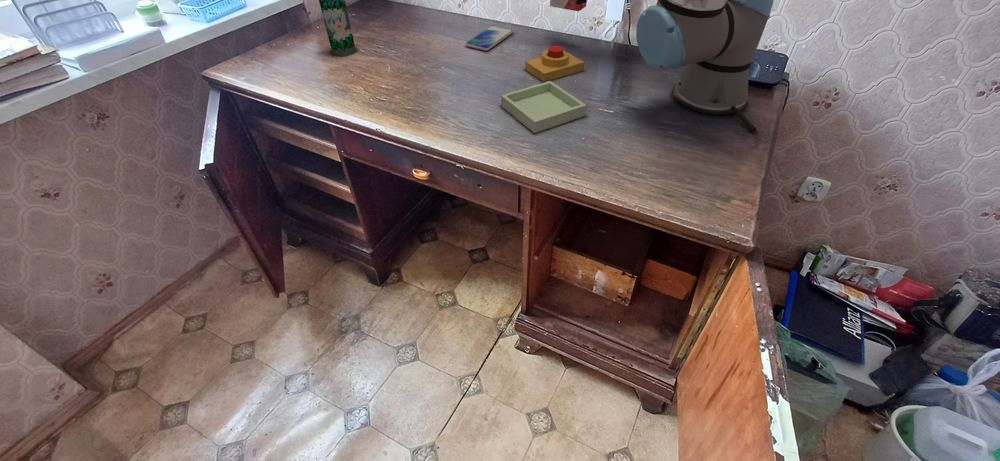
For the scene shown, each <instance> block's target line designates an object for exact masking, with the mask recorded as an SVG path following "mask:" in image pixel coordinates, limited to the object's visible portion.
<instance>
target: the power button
mask: <svg viewBox="0 0 1000 461" xmlns="http://www.w3.org/2000/svg"><path fill="white" fill-rule="evenodd" d="M547 50H548V56H549V57H551V58H560V57H563V50H564V47H562V46H561V45H551V46H549V47H548V48H547Z"/></svg>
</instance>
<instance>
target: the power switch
mask: <svg viewBox="0 0 1000 461" xmlns="http://www.w3.org/2000/svg"><path fill="white" fill-rule="evenodd" d="M524 68H525V69H524V70H525V71H527V72H528V73H529V74H531V75H532V76H534V77H535V78H537V79H538V80H540V81H541V82H542V83H545V82H548V81H553V80H556V79H559V78H562V77H566V76H570V75H572V74H573V75H574V74H576V73H579V72H583V71H584V68H585V61H583V60H582V59H580V58H579V57H576V56H574V55H573V54H571V53H569V52H568V51H566V50H564V49H563V57H560V58H551V57H549V56H548V49H546V50H544V51H542V53H541V56H540V57H537V58H533V59H529V60H526V61H525V67H524Z"/></svg>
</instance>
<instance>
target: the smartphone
mask: <svg viewBox="0 0 1000 461" xmlns="http://www.w3.org/2000/svg"><path fill="white" fill-rule="evenodd" d="M513 33H514V31H513V30H512V29H510V28H505V27H501V26H497V25H490V26H489V27H487V28H486V29H484V30H483V31H481V32H480V33H478V34H477V35H475V36H474V37H472V38H470V39H468V41H466V42H465V46H466V47H468V48H473V49H477V50H480V51H486V52H487V51H489V50H491V49H492V48H494V47H495V46H496V45H498V44H500V43H501V42H502V41H504V40H505V39H507V38H508V37H509V36H511V35H512V34H513Z"/></svg>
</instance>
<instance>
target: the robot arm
mask: <svg viewBox="0 0 1000 461" xmlns="http://www.w3.org/2000/svg"><path fill="white" fill-rule="evenodd" d="M587 2H588V0H576V4H583V3H586V4H587ZM773 5H774V0H657V2H656V3H655V5H650V6H649V7H647V8H646V9H645V10H643V11H642V12H641V13H640V15H639V17H638V19H637V23H636V29H635V38H636V44H637V47H638V50H639V54H640V55H641V57H642V59H643V61H644V62H645V63H646V64H647V65H648V66H649V67H651V68H653V69H655V70H659V71H666V70H677V69H679V68H681V67H684V66H687V67H686V68H685V69H684V71H683V72H682V74H681V76H680V77H679V78H678V80H677V81H676V83H675V85H674V86H675V87H674V90H673V97H674V99H675V100H676V101H677V102H678V103H679V104H680V105H682V106H684V107H685V108H687V109H690V110H692V111H694V112H698V113H701V114H707V115H715V116H723V115H724V116H725V115H733V114H735V115H736V116H737V117H738V118H739V120H740V121H741V122H742V123H743V124H744V125H745V127H746V128H748V129H749V130H750V131H751V132H753V133H754V132H756V131H757V127H756V126H755V125H753V123H752V122H750V121H749V119H748V118H747V117H746V116H745V115H744V114H743V113H742V112H741V111H742V110H743V109H744V108H745V106H746V103H747V101H748V98H749V75H750V74H749V73H750V72H749V70H750V68H751V65H752V63H753V59H754V57H755V54H756V52H757V49H758V46H759V44H760V42H761V39H762V36H763V34H764V31H765V28H766V26H767V23H768V21H769V19H770V17H771V12H772V9H773Z"/></svg>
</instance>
